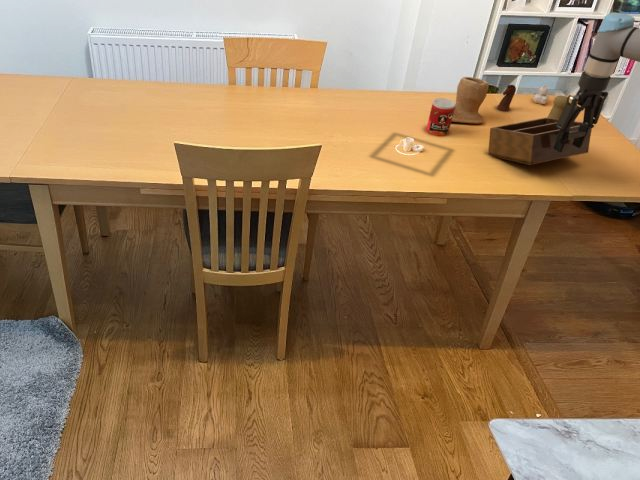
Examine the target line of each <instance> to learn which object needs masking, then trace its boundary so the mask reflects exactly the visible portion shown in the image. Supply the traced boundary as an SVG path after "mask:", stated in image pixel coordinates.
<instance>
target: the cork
mask: <svg viewBox="0 0 640 480" xmlns="http://www.w3.org/2000/svg"><path fill="white" fill-rule="evenodd" d="M567 98H568V96H565V95H557V96H556V97H554V99H553V105H552V107H551V109H550V111H549V113H548V115H547V117H546V118H553V119H559V118H560V116H561V113H562V111H563V109H564V107H565V105H566V102H567Z"/></svg>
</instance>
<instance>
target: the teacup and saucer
mask: <svg viewBox="0 0 640 480" xmlns="http://www.w3.org/2000/svg"><path fill="white" fill-rule="evenodd" d="M402 141H403V143H402ZM414 143H415V139H414V138H413V137H405V138H404V139H400V142H399V144H396V146H394V148H395V151H396V152H397V153H399V154H402V155H405V156H415V155H417V154H420V153H421V152H423V151H424V146H423V145H422V144H414ZM400 146H401V148H402V149H403V151H405V152H410V151H411V150H412V151H413V152H415V153H404V152H401V151H400V150H398V147H400Z"/></svg>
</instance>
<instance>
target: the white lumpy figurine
mask: <svg viewBox="0 0 640 480" xmlns="http://www.w3.org/2000/svg"><path fill="white" fill-rule="evenodd" d="M548 91H549V87H548V85H546V84H544V85H542V86H541V87H540V88H539V89H538V91H537V93H535V94H534V96H533V98H532V100H533V102H534V103H535V104H538V105H546V103H547V102H548V101H549V98H550V97H549V95H547V94H548Z"/></svg>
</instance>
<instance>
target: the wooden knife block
mask: <svg viewBox="0 0 640 480" xmlns="http://www.w3.org/2000/svg"><path fill="white" fill-rule="evenodd" d="M558 120H559V119H553V118H547V117H542V118H537V119H531V120H525V121H520V122H519V121H518V122H515V123H508V124H504V125H499V126H493V127H490V128H489V129H490V130H489V137H488V138H489V139H488V149H487V150H488V152H487V155H489V156H490V157H494V158H498V159H502V160H506V161H511V162H516V163H520V164H525V165H529V166H532V165H537V164H541V163H546V162H551V161H556V160H561V159H563V158H569V157H573V156H579V155H583V154H587V153H589V149H590V143H591V136H592V129H593V128H589V130H588V133H587V135H586V136H585V134H586V132H585V130H579V131H578V129H579V126H580V125H581V124H582V125H584V124H583V121H576V120H575V121H574V122H573V124H572V125H571V127H570V129H569V130H568V131H569V132H570V133H569V135H568V138H567V140H566V143H565V145H564V148H563V150H562V152H559V151H557V150H555V149H553V148H554V145H555V143H556V140H557V136H558V133H559V131H560V130H559V129H557V128H556V127H555V126H556V124H557V122H558ZM583 136H585V139H584V141H583V143H582V146H581V148H578V147H576V146H574V145H572V144H573V141H574V139H575V138H578V137H583Z"/></svg>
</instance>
